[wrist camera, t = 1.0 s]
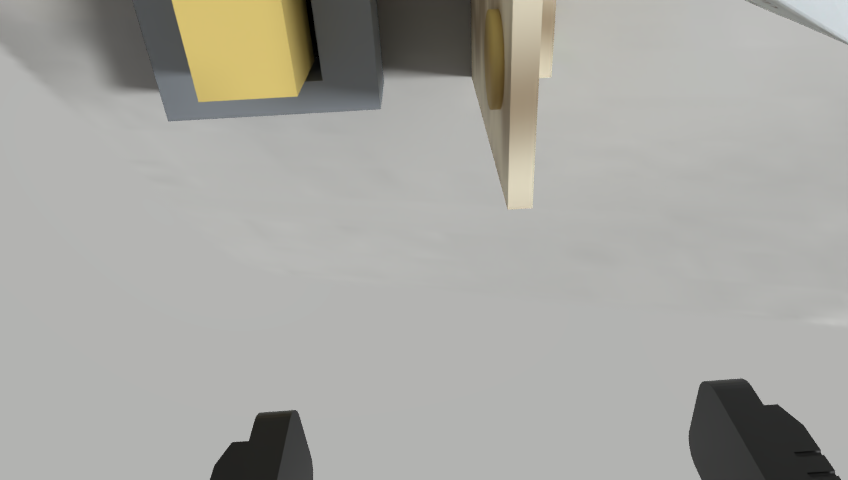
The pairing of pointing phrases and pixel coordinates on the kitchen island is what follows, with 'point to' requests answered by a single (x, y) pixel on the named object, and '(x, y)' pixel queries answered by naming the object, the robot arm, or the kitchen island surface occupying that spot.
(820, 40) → the kitchen island surface
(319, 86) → the board
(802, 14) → the supplement box
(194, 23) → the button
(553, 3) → the card
